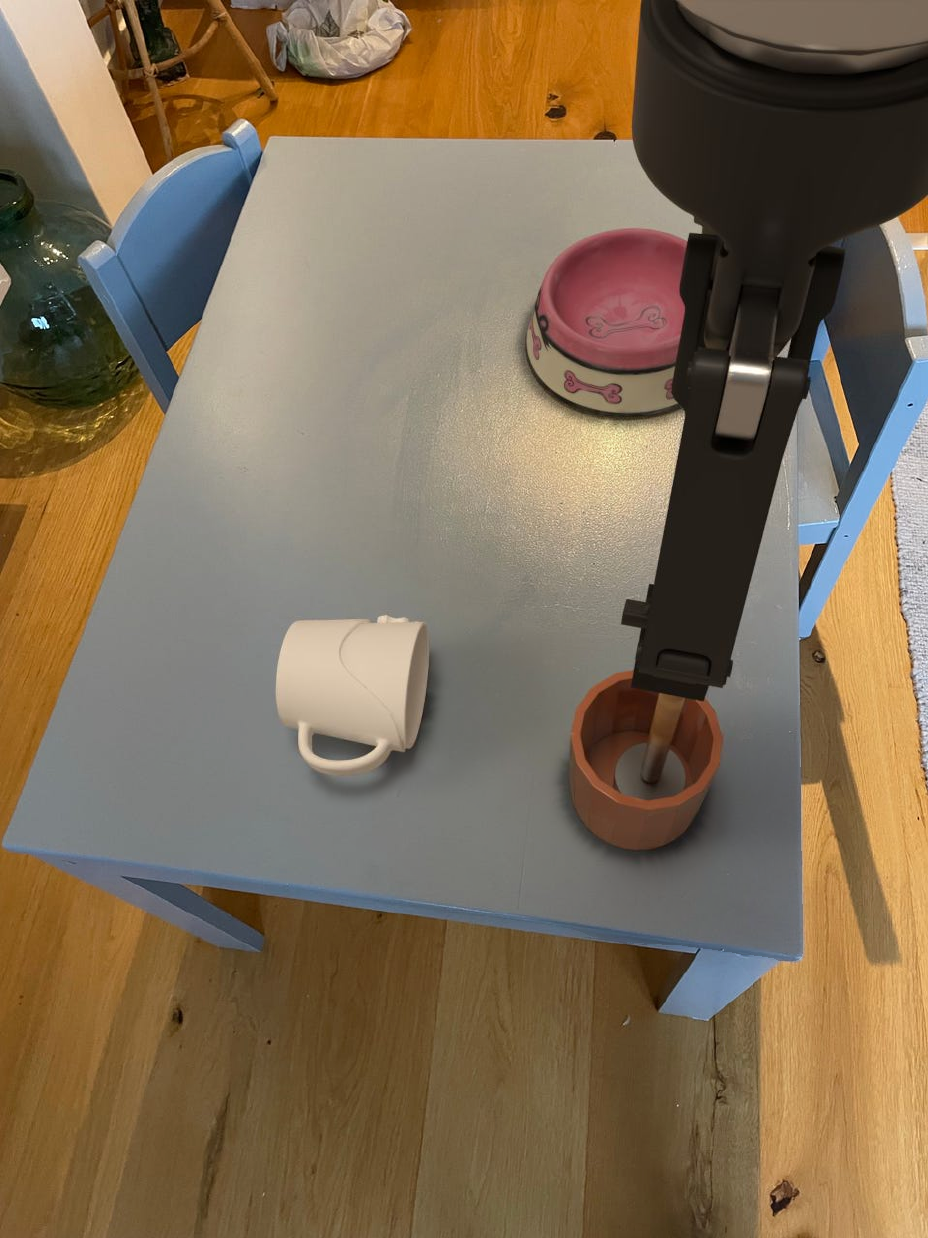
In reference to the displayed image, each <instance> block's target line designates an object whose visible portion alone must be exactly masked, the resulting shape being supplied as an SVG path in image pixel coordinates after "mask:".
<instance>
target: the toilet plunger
mask: <svg viewBox="0 0 928 1238" xmlns="http://www.w3.org/2000/svg"><path fill="white" fill-rule="evenodd" d="M684 700H685V698H683V697H677V696H672V695H667V694H662V693H659V697H658V701H657V705H656V709H655V713H654V717H653V722H652V726H651V730H650V734H649V738H648V742H647V743H640V744H636V745H634V746H632V747H630V748H628V749H627V750H626V751H624V752H623V754H622V755H621V756H620V758H619V759H618V761H617V763H616V767H615V772H614V778H613V789H615V790H616V791H618V792H619V793H621V794H622V795H626V796H631V797H635V798H640V799H645V800H654V799H660V798H666V797H672V796H676V795H677V794H679V793H680V792H682V791H683V790H684V788H685V784H686V773H685V769H684V766H683V764H682V762H681V760H680V759H679V757H678V756H677V755H676V754H675V753H674V752H673V751H672V750H670V745H671V742H672V739H673V736H674V732H675V729H676V726H677V723H678V719H679V716H680V713H681V710H682V706H683V703H684Z"/></svg>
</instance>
